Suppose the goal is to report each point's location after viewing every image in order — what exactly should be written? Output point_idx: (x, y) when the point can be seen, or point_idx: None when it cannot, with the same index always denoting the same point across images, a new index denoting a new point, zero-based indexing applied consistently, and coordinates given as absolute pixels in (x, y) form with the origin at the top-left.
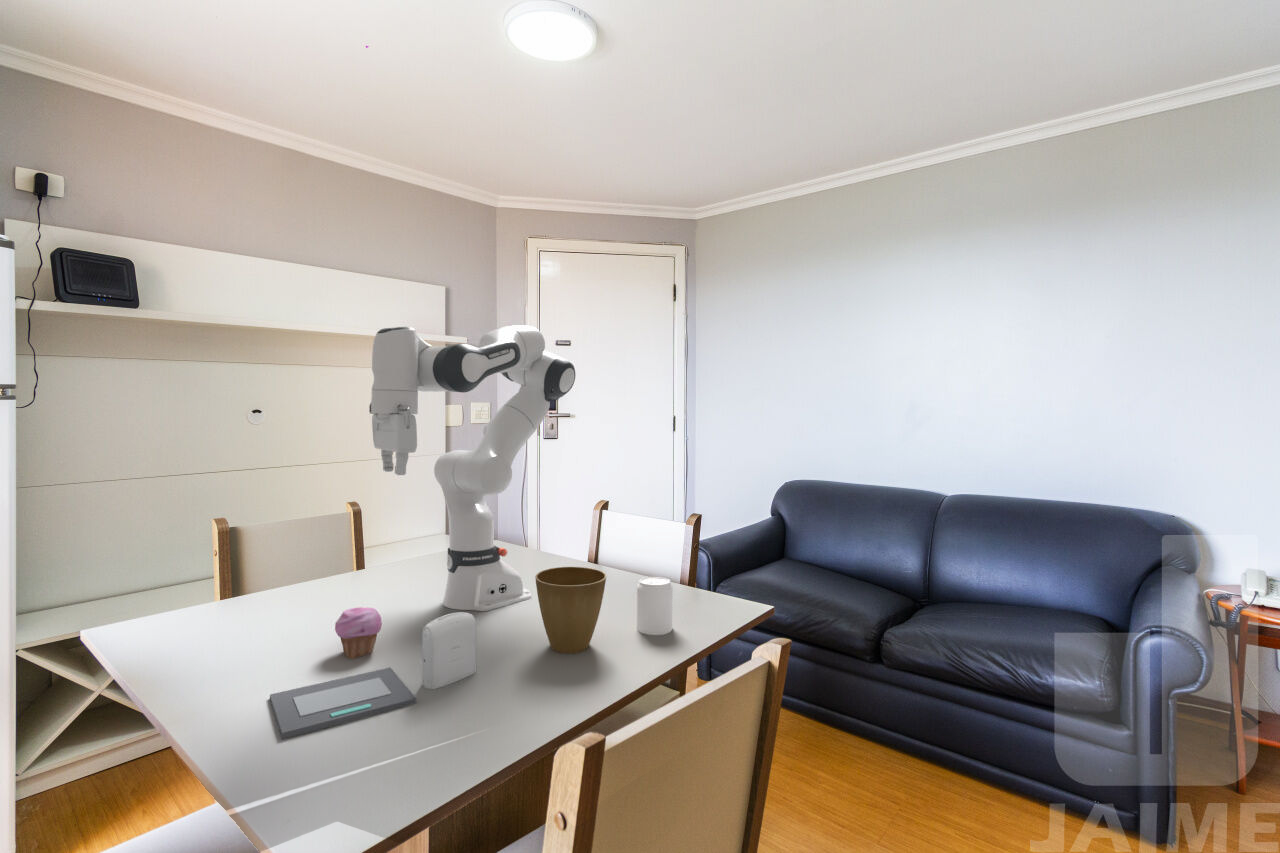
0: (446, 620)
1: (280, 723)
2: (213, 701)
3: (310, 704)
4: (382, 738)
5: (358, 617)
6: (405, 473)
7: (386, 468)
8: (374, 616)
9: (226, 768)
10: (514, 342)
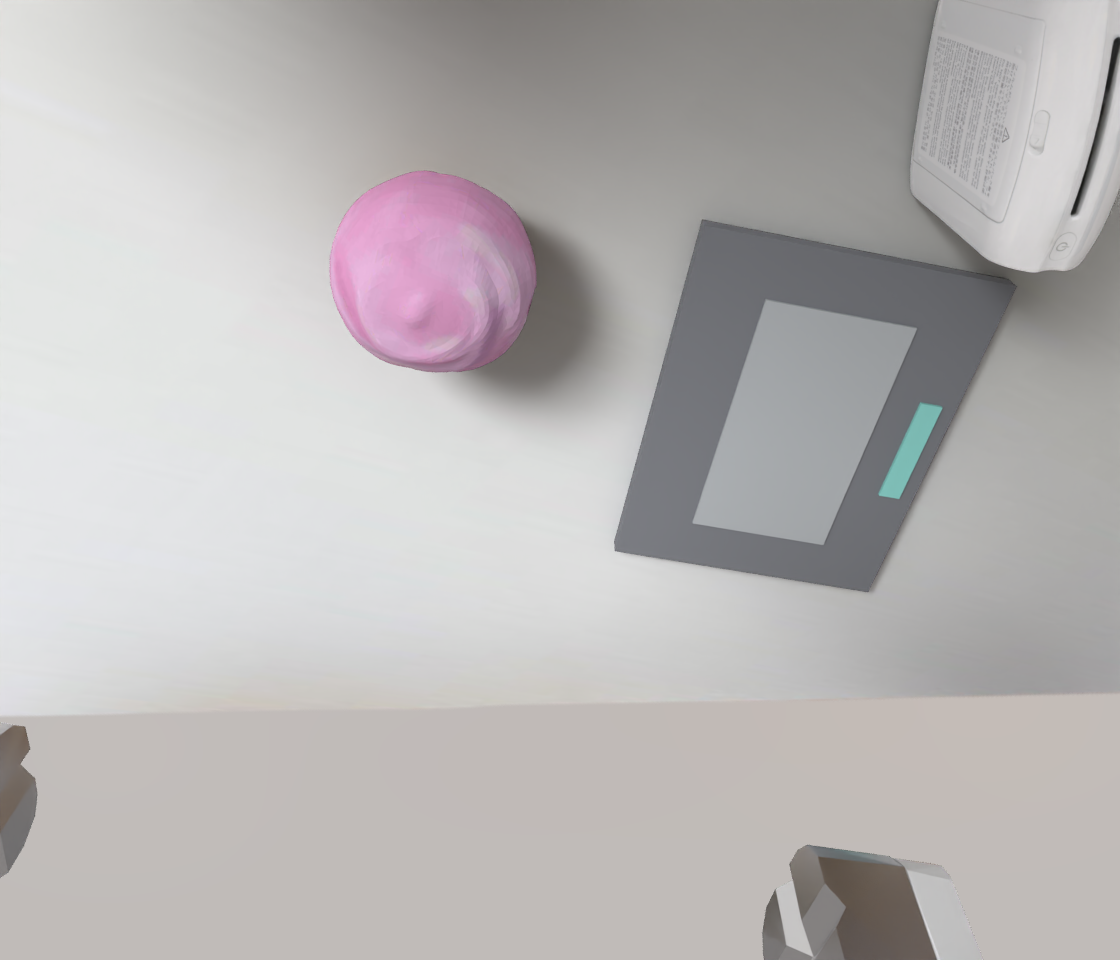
0: (1115, 186)
1: (814, 581)
2: (511, 622)
3: (777, 508)
4: (1087, 435)
5: (493, 327)
6: (950, 877)
7: (4, 853)
8: (498, 251)
9: (883, 674)
10: None
